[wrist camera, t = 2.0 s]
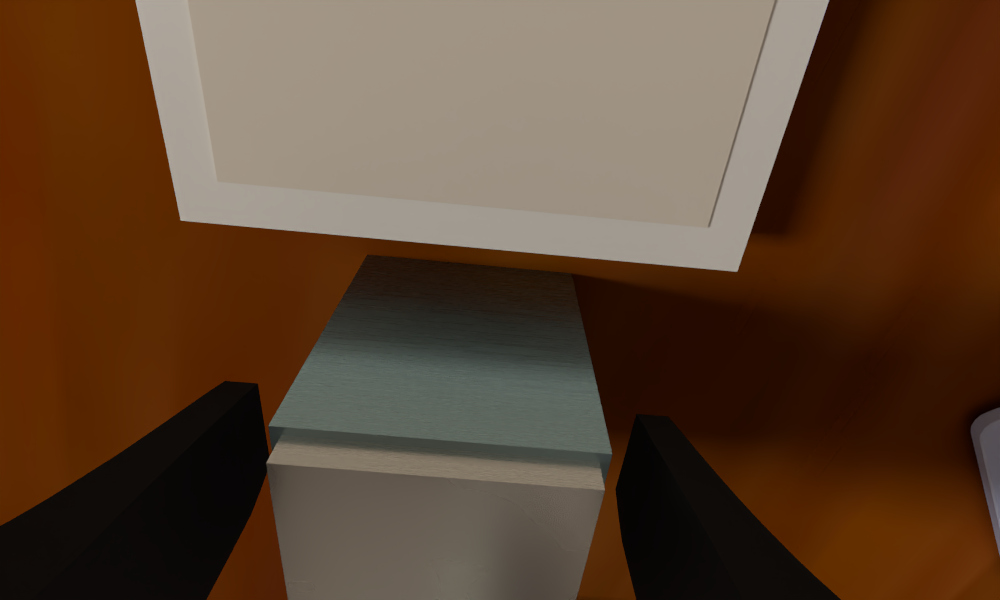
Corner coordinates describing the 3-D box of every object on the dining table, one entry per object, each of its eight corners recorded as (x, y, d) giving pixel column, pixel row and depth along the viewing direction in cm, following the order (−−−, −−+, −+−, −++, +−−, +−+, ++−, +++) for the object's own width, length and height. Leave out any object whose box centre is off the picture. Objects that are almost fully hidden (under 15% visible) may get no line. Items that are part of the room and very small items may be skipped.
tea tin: (367, 254, 12) (251, 453, 7) (571, 272, 12) (619, 482, 7) (372, 412, 14) (288, 658, 9) (544, 426, 14) (565, 677, 9)
